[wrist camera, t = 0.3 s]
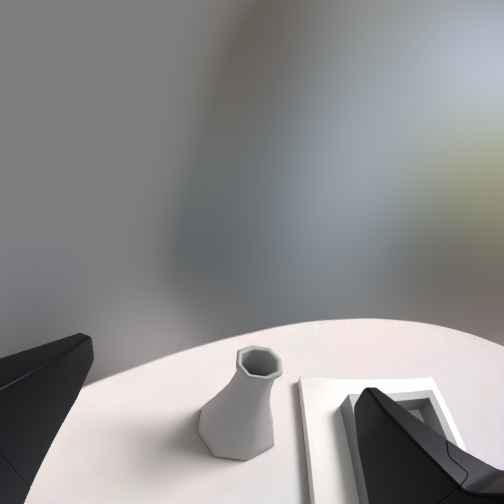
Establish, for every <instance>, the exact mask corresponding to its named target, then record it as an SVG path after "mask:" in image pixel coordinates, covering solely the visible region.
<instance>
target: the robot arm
mask: <svg viewBox="0 0 504 504" xmlns="http://www.w3.org/2000/svg"><path fill="white" fill-rule="evenodd" d="M93 360H94V353H93V345H92V339H91V337H90V336H88V335H85V334H83V333H78V334H75V335H72V336H69V337H66V338H63V339H60V340H57V341H54V342H50V343H47V344H44V345H41V346H38V347H35V348H32V349H29V350H25V351H22V352H19V353H16V354H13V355H10V356H6V357H3V358H0V504H24V502H25V499H26V497H27V495H28V492H29V490H30V487H31V485H32V483H33V481H34V479H35V476H36V474H37V472H38V470H39V468H40V466H41V464H42V462H43V460H44V458H45V456H46V454H47V452H48V450H49V448H50V446H51V444H52V442H53V440H54V438H55V436H56V435H57V433H58V431H59V429H60V427H61V425H62V423H63V422H64V420H65V418H66V416H67V414H68V413H69V411H70V409H71V407H72V406H73V404H74V402H75V400H76V399H77V397H78V395H79V392H80V390H81V388H82V386H83V383H84V381H85V379H86V377H87V374H88V372H89V370H90V368H91V366H92V363H93ZM354 416H355V425H356V435H357V444H358V450H359V455H360V460H361V465H362V470H363V475H364V481H365V486H366V492H367V497H368V503H369V504H504V471H503V470H498V469H496V468H494V467H492V466H490V465H488V464H486V463H484V462H483V461H481V460H479V459H477V458H475V457H474V456H472V455H470V454H468V453H467V452H465V451H463V450H462V449H460V448H459V447H457V446H456V445H454V444H453V443H451V442H450V441H449V440H446V438H444V437H443V436H442V435H440V434H439V433H437V432H436V431H435V430H433V429H432V428H430V427H429V426H428V425H426V424H425V423H424V422H422V421H421V420H419V419H418V418H417V417H415V416H414V415H413V414H411V413H410V412H409V411H407V410H406V409H404V408H403V407H402V406H400V405H399V404H398V403H396V402H395V401H394V400H392V399H391V398H390V397H388V396H387V395H386V394H385V393H383V392H382V391H381V390H379V389H378V388H376V387H366V388H364V389H363V391H362V393H361V394H360V396H359V398H358V400H357V401H356V403H355V406H354Z"/></svg>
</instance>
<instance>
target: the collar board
mask: <svg viewBox="0 0 504 504" xmlns="http://www.w3.org/2000/svg"><path fill="white" fill-rule="evenodd" d="M366 387H376V388H378V389H379V390H381V391H382V392H383V393H385V394H386V395H387V396H388V397H390V398H391V399H392V400H394V401H395V402H396V403H398V404H399V405H400V406H402V407H403V408H404V409H406V410H407V411H409V412H410V413H411V414H413V415H414V416H415V417H417V418H418V419H419V420H421V421H422V422H424V423H425V424H426V425H428V426H429V427H430V428H432V429H433V430H435V431H436V432H437V433H439V434H440V435H442V436H443V437H444V438H446V440H449V441H450V442H451V443H453V444H454V445H456V446H457V447H459V448H460V449H462V450H463V451H465V452H467V450H466V448H465V446H464V443H463V441H462V439H461V436H460V434H459V432H458V429H457V427H456V425H455V423H454V421H453V418H452V416H451V414H450V412H449V410H448V408H447V406H446V404H445V402H444V400H443V398H442V396H441V394H440V392H439V390H438V388H437V386H436V384H435V382H434V380H433V378H418V379H392V380H358V379H331V378H315V377H303V376H300V378H299V380H298V389H299V397H300V405H301V414H302V423H303V432H304V441H305V451H306V461H307V472H308V482H309V494H310V504H369V503H368V497H367V492H366V486H365V481H364V475H363V470H362V465H361V460H360V455H359V450H358V444H357V435H356V425H355V416H354V406H355V403H356V401H357V400H358V398H359V396H360V394H361V393H362V391H363V389H364V388H366Z"/></svg>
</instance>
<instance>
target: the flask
mask: <svg viewBox="0 0 504 504" xmlns="http://www.w3.org/2000/svg"><path fill="white" fill-rule="evenodd" d="M236 369H237V371H236V373H235V375H234V376H233V378H232V380H231V381H230V383H229V384H228V385H227V386H226V387H225V388H224V389H223V390H222V391H220V392H219V393H218V394H217V395H216V396H215V397H214V398H212V399H211V400H210V401H209V402H207V403H206V404H205V405H204V406H203V407H202V408H201V414H200V419H199V425H198V431H197V432H198V433H199V435H200V436H201V438H202V439H203V441H204V442H205V444H206V445H207V447H208V448H209V450H210V451H211V452H212V454H213V455H214V456H216V457H223V458H231V459H240V460H249V459H251V458H253V457H255V456H257V455H259V454H261V453H263V452H264V451H266V450H268V449H270V448H272V447H273V446H274V438H273V418H272V413H271V407H270V400H269V399H270V391H271V387H272V384H273V382H274V380H275V379H276V378H278V377H280V376H281V375H282V364H281V359H280V358H279V357H278V356H277V355H276V354H275V353H274V352H273V351H272V350H271V349H270V348H266V347H259V346H250V347H247V348H244V349H241V350H238V352H237V360H236Z"/></svg>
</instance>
